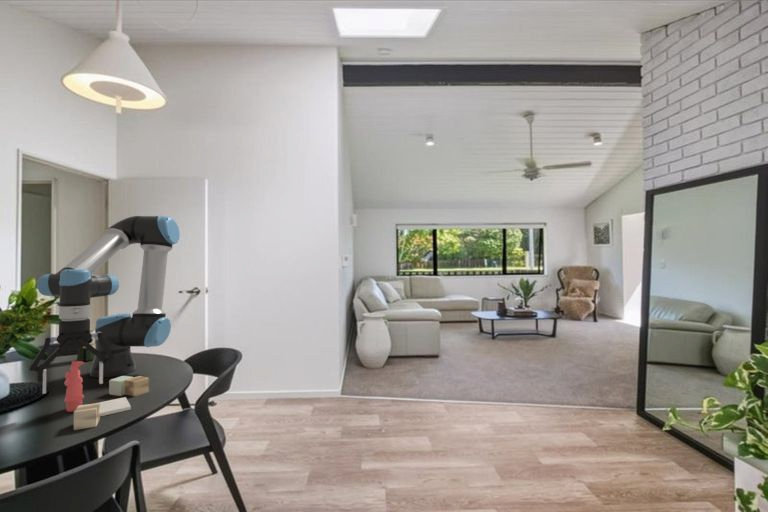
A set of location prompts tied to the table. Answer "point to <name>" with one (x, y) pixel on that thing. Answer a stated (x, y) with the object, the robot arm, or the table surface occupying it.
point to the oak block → (136, 386)
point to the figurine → (73, 387)
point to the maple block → (86, 416)
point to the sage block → (118, 385)
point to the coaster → (114, 406)
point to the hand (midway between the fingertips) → (73, 387)
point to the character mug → (86, 350)
